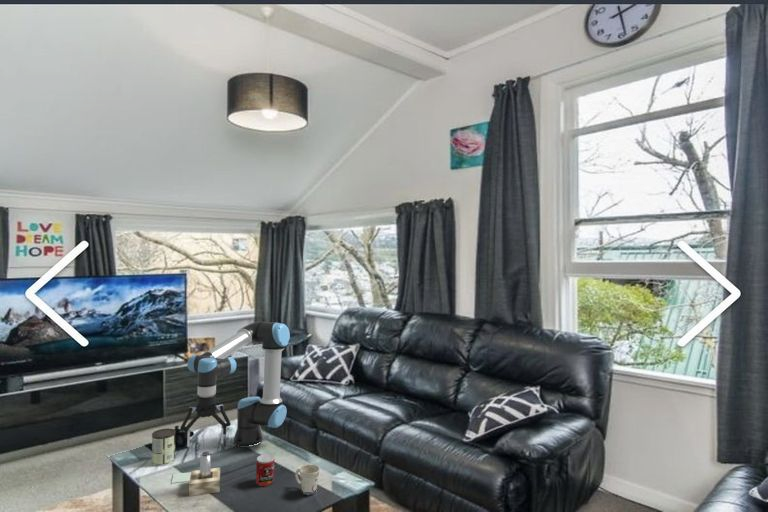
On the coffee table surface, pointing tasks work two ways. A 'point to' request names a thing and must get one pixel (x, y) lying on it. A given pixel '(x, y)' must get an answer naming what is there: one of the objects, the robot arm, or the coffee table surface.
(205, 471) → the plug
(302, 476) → the mug
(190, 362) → the robot arm
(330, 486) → the coffee table surface
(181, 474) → the pad
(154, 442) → the coffee can
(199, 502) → the coffee table surface
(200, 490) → the housing
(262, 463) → the canned food
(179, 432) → the controller
